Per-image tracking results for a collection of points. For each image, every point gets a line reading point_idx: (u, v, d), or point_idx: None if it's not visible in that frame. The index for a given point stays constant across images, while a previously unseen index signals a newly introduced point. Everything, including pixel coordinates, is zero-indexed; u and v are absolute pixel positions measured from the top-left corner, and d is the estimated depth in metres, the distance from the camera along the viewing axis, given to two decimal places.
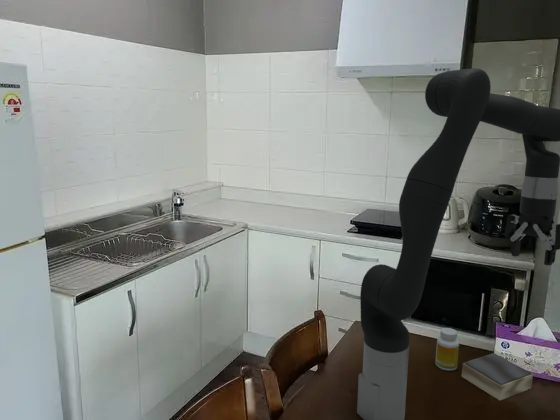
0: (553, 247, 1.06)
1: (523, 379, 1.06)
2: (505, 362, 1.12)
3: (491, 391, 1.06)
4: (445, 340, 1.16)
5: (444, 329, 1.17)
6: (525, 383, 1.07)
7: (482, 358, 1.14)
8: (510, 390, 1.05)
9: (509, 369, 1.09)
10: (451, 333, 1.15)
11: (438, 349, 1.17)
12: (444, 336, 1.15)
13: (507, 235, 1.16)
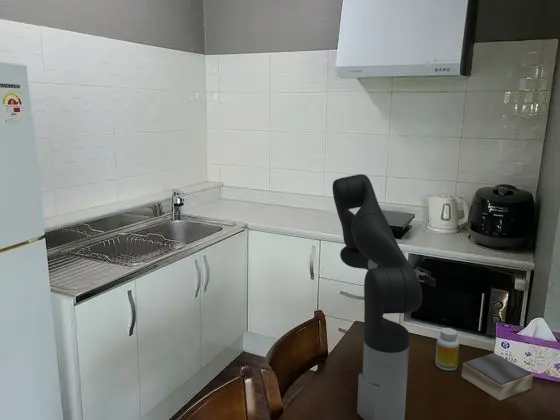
0: None
1: (523, 379, 1.06)
2: (505, 362, 1.12)
3: (491, 391, 1.06)
4: (445, 340, 1.16)
5: (444, 329, 1.17)
6: (525, 383, 1.07)
7: (482, 358, 1.14)
8: (510, 390, 1.05)
9: (509, 369, 1.09)
10: (451, 333, 1.15)
11: (438, 349, 1.17)
12: (444, 336, 1.15)
13: None
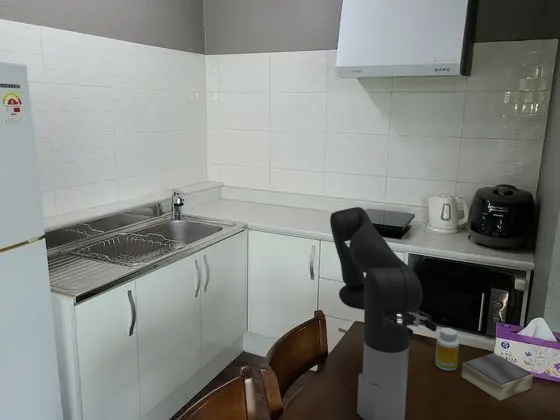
0: None
1: (523, 379, 1.06)
2: (505, 362, 1.12)
3: (491, 391, 1.06)
4: (445, 340, 1.16)
5: (444, 329, 1.17)
6: (525, 383, 1.07)
7: (482, 358, 1.14)
8: (510, 390, 1.05)
9: (509, 369, 1.09)
10: (451, 333, 1.15)
11: (438, 349, 1.17)
12: (444, 336, 1.15)
13: None
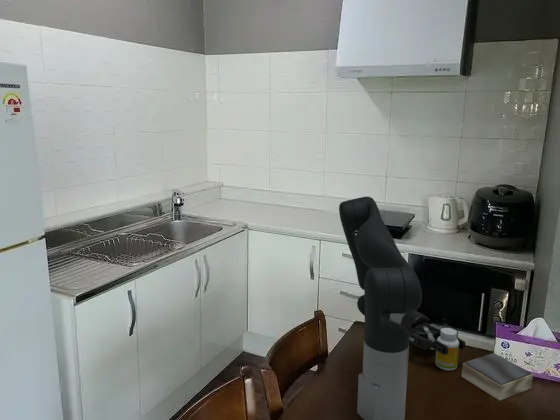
0: None
1: (523, 379, 1.06)
2: (505, 362, 1.12)
3: (491, 391, 1.06)
4: (445, 340, 1.16)
5: (444, 329, 1.17)
6: (525, 383, 1.07)
7: (482, 358, 1.14)
8: (510, 390, 1.05)
9: (509, 369, 1.09)
10: (451, 333, 1.15)
11: None
12: (444, 336, 1.15)
13: (426, 339, 1.17)
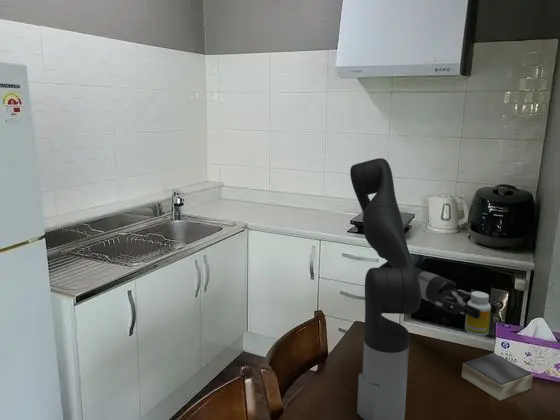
0: None
1: (523, 379, 1.06)
2: (505, 362, 1.12)
3: (491, 391, 1.06)
4: (477, 303, 1.09)
5: (475, 292, 1.11)
6: (525, 383, 1.07)
7: (482, 358, 1.14)
8: (510, 390, 1.05)
9: (509, 369, 1.09)
10: (483, 296, 1.09)
11: None
12: (475, 299, 1.09)
13: (456, 303, 1.11)
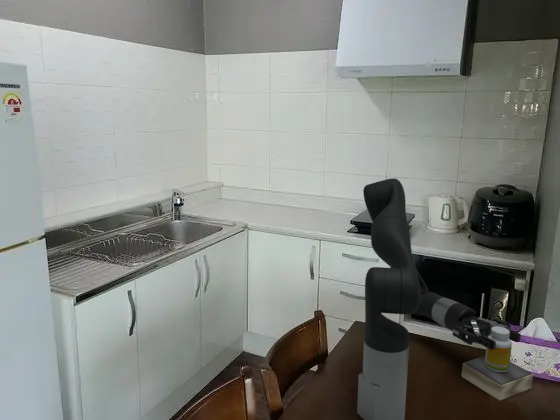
0: None
1: (523, 379, 1.06)
2: None
3: (491, 391, 1.06)
4: (497, 339, 1.07)
5: (495, 328, 1.09)
6: (525, 383, 1.07)
7: (482, 358, 1.14)
8: (510, 390, 1.05)
9: (509, 369, 1.09)
10: (503, 332, 1.07)
11: (489, 349, 1.09)
12: (496, 335, 1.07)
13: (471, 333, 1.08)
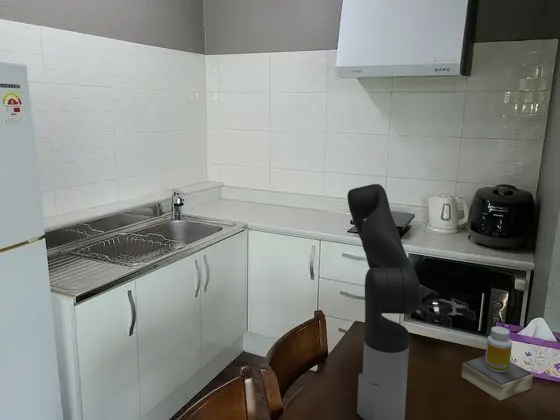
0: None
1: (523, 379, 1.06)
2: None
3: (491, 391, 1.06)
4: (497, 339, 1.07)
5: (495, 328, 1.09)
6: (525, 383, 1.07)
7: (482, 358, 1.14)
8: (510, 390, 1.05)
9: (509, 369, 1.09)
10: (503, 332, 1.07)
11: (489, 349, 1.08)
12: (496, 335, 1.07)
13: (431, 312, 1.20)
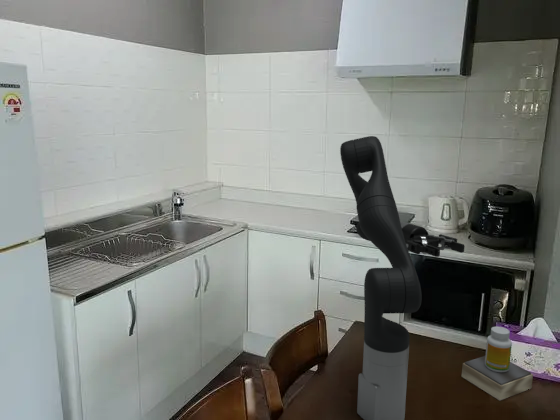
0: None
1: (523, 379, 1.06)
2: None
3: (491, 391, 1.06)
4: (497, 339, 1.07)
5: (495, 328, 1.09)
6: (525, 383, 1.07)
7: (482, 358, 1.14)
8: (510, 390, 1.05)
9: (509, 369, 1.09)
10: (503, 332, 1.07)
11: (489, 349, 1.09)
12: (496, 335, 1.07)
13: (419, 244, 1.18)
